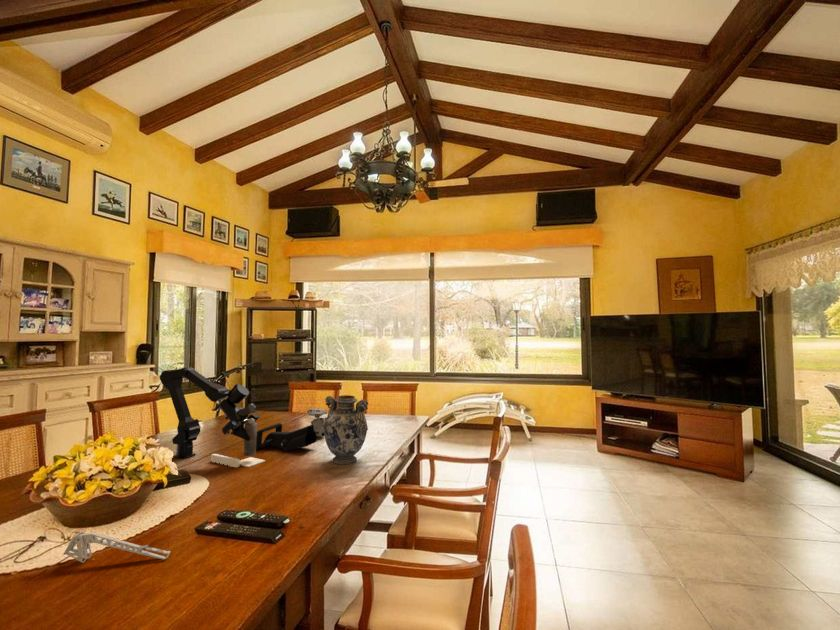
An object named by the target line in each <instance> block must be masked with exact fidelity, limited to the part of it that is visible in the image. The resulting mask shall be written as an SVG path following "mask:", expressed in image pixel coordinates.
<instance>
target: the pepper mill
mask: <svg viewBox="0 0 840 630" xmlns="http://www.w3.org/2000/svg"><path fill="white" fill-rule="evenodd" d="M244 428H245V431H246V433H247V434H248V436H249V437H250V441H247V440H245V439H243V441H244V442H243V456H246V457H253V456H255V455H256V454H257V450H256V438H257V431H258V422H257V421H256V422H255V420H254V419H253V418H250V419H249V420H248V423H245V426H244Z"/></svg>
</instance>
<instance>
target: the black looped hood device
mask: <svg viewBox="0 0 840 630" xmlns="http://www.w3.org/2000/svg"><path fill="white" fill-rule="evenodd" d="M303 427H304V428H303ZM303 427H302V428H298V429H296V430H293V431H283V424H282V423H281V422H278V423H276V424H273V425H270V426H267V427H264V428H261V429H259V430H258V429H257V435H258V437H257V438H256V451H257V450H260V449H262V448H265V447H267V446H270V445H271V446H274V447H276V448H279V449H281V450H282V451H283V450H284V451H285V452H287V451H291V450H297V449H301V448H304V447H305V448H306V447H308V446H311V445H312V444H315V443H317V441H318V440H317V439H318V438H317V436H316V432H315V431H314V427H313V425H311V424H310V425H308V426H307V425H306V426H303ZM273 429H275V431H272V432H270V433H268V434H267V435H266V436H265V437H264V440H263V433H266V432H268V431H271V430H273Z"/></svg>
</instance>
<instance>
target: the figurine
mask: <svg viewBox="0 0 840 630" xmlns="http://www.w3.org/2000/svg"><path fill="white" fill-rule="evenodd" d="M306 412H307V416H308V417H314V419H312V420H311V421H310V425H313V427H314V431H315V432H316V436H317V439H318V438H321V439H322V438H323V435H322V434H324V423H325V420H326V418H327V416H325V415H328V410H327V409H326V408H319V407H317V408H308V409H307V411H306ZM321 416H322V417H321ZM323 416H324V417H323ZM307 426H309V425H308V424H306V427H307ZM304 427H305V426H303V427H302V428H304Z"/></svg>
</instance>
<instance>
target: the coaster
mask: <svg viewBox="0 0 840 630" xmlns="http://www.w3.org/2000/svg"><path fill="white" fill-rule="evenodd" d="M264 462H266V460H265V459H261V458H257V457H253V456H248V457H246V458H243V459H241V460H240V459H239V466H241V467H246V468H250V467H253V466H256V465H259V464H262V463H264Z"/></svg>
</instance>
